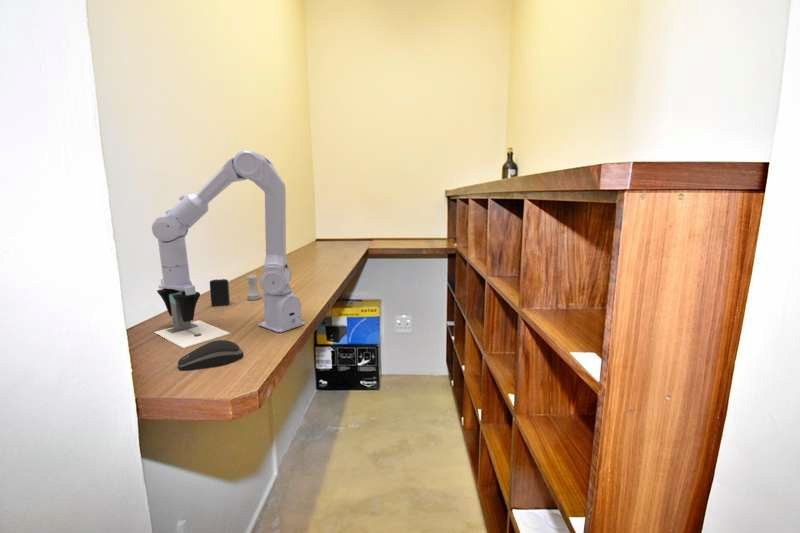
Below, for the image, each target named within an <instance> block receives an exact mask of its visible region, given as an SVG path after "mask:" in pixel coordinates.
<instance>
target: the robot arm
mask: <svg viewBox="0 0 800 533" xmlns="http://www.w3.org/2000/svg"><path fill="white" fill-rule="evenodd" d="M246 180H249V181H251V182H253V183H254V184H255V185H256V186H257V187H259V189H260V190H262V191H263V193H264V220H265V221H264V222H265V223H264V224H265V226H264V229H265V259H264V265H263V274H262V275H261V276H260V280H259V282H260V283H259V284H260V286H261V289H262V298H263V311H264V312H263V313H264V321H262V322H258V324H257V325H258V326H260V327H263V328H266V329H267V330H270V331H273V332H277V333H279V332H280V333H284V332H286V331H288V330H292V329H294V328H297V327H298V328H299V327H301V326H303V325H305V322H304V321H303V318H302V317H303V316H302V303H301V300H300V299H299V297H298V296H296V295H295V294H294V292H293V288H292V287H291V286H290V284H289V283H290V281H291V279H292V270H291V269H290V267H289V260H288V257H287V229H286V228H287V223H286V221H287V213H286V212H287V210H286V206H287V204H286V201H287V200H286V197H287V196H286V194H287V193H286V184H285V181H284V180H283V178H282V177H281V176H280V174H279V173H278V171H277V169H276V168H275V165H274V164H273V162H272V161H271V160H269V159H268V158H267V157H266V156H264V155H263V154H260V153H257V152H255V151H254V150H252V149H251V150H250V149H242V150H240V151H239V152H237V153H236V154H235V156H234V157H231V158H230V159H228V160H227V161H226V162H225V163H224V165H223V166H222V167H221V168H220V169H219V170H218V171H217V172H216V173H215V174H214V175H213V176H212V177H211V178H210V179H209V180H208V181H207V182H206V184H204V185H203V186H202V187H201V188H200V189H199V191H198V192H196V193H188V194H186V195H185V194H184V195H183V194H182V195H181V196H180V197H179V198H178V200H179V202H178V203H177V204H175V206H173V208H171V209H168V210H165V212H164V213H165V214H166V215H165V216H159V217H156V218H155V220H154V222H153V223H152V226H151V233H152V234H153V236H154V237H155V238H156V240H157V242H158V250H159V258H160V260H159V261H160V266H161V272H162V279H160V284H159V285H158V290H156V292H157V294H158V295H159V296H160V298H161V299H162V301H163V302H164V305H165V307H166V310H167V312H168V314H169V317H172V312H171V304H170V298H169V294H173V293H178V292H181V293H182V294H178V295H173V298H174V299H175V301H176V302H177V304H178V306H179V309H180V313H181V316H182V319H183V321H184V322H188V321H191V322H193V320H194V317H195V311H196V308H197V307H196V306H197V303H198V300H199V298H200V296H201V292H198V291H196V286H195V285H193V283H192V281H191V278H190V271H189V269H190V268H189V261H188V252H187V244H186V236H187V235H188V233H189V229H190V228H191V227H193V226H194V225H195V224H196V223H197V222H198V221H199V220H200V219H201V218H202V217H203V216H205V214H207V212H208V211H209V203H210V202H211V201H213V200H214V199H216V197H218V195H220V193H222V192H223V191H224V190H225V189H226V188H228V187H229V186H230V185H231V184H232V183H235V182H241V181H246Z"/></svg>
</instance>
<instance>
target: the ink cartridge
mask: <svg viewBox="0 0 800 533" xmlns="http://www.w3.org/2000/svg"><path fill="white" fill-rule="evenodd" d="M229 285H230V284H229V279H226V278H225V279H224V278H221V279H212V280H210V281H209V291H210V301H211V302H210V303H211V306H212V307H223V306H229V305H230V304H231V299H230V286H229Z"/></svg>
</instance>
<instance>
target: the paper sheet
mask: <svg viewBox="0 0 800 533" xmlns="http://www.w3.org/2000/svg"><path fill="white" fill-rule="evenodd" d="M153 333H154V334H155V333H156V334H155V335H157V334H158V335H160V336H161V337H160V336H159V337H160V338H162V337H163V338H162V339H164V338H165V339H164V340H166V341H168V342H170V343H172V344H174V345H175V346H178V347H179V348H181V349H184V350H185V349H188V348H191V347H195V346H197V345H201V344H203V343H208V342H211V341H215V340H217V339H219V338H222V337H226V336H230V335H231V333H230V332H229V331H227V330H224V329H222V328H219V327H216V326H213V325H211V324H209V323H206V322H204V321H202V320H200V319H199V320H198V319H197V320H195V321H191V328H188V329H184V330H181V331H178V330H176V329H174V327H173V326H172V327H167V328H165V329H161V330H157V331H153ZM158 335H157V336H158Z"/></svg>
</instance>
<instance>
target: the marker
mask: <svg viewBox="0 0 800 533" xmlns="http://www.w3.org/2000/svg"><path fill="white" fill-rule="evenodd" d="M178 294H182V293H181V292H178V293H173V294H169V298H170V304H171V312H172V316H171V317H172V318H171V319H172V327H174V329H176V330H178V331H181V330H184V329H188V328H191V322H192V321H188V322H184V321H183V319H182V316H181V313H180V309H179V306H178V304H177V302H176V301H175V299H174V298H173V295H178Z"/></svg>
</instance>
